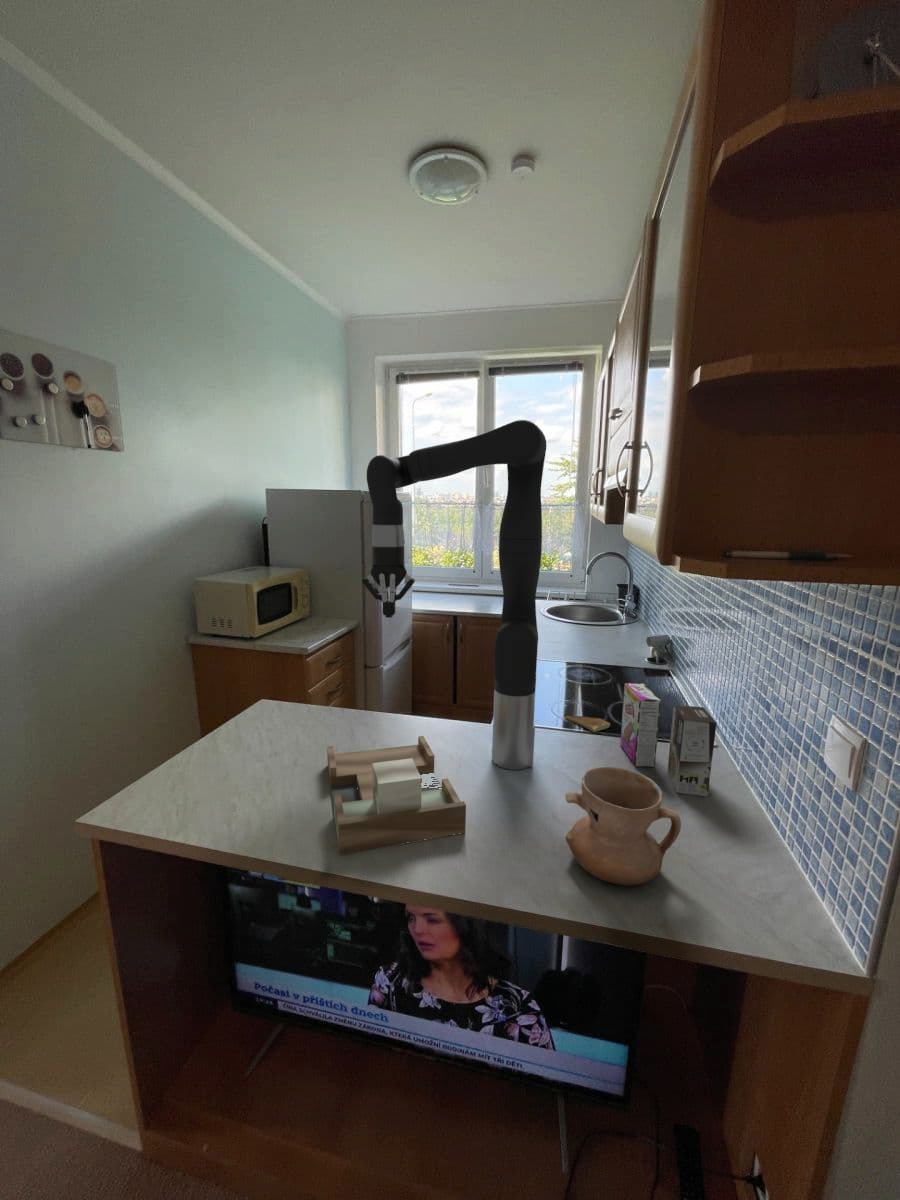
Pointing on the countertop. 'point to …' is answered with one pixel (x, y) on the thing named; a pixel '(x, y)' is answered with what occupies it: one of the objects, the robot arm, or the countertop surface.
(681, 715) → the coffee box
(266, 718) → the countertop surface
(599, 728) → the shard
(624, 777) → the ceramic jug
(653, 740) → the candy bar box
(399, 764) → the block
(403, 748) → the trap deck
